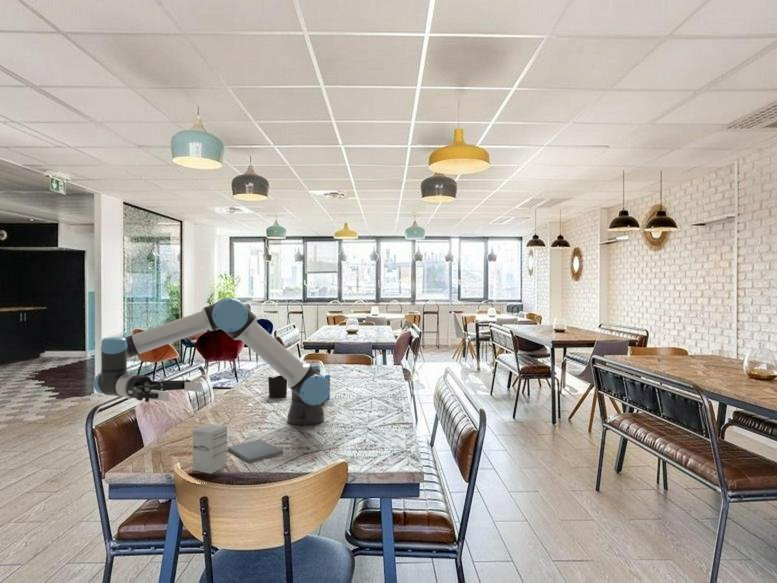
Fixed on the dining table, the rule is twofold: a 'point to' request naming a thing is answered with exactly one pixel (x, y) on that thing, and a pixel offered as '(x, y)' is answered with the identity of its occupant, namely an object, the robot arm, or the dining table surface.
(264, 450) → the slate mat
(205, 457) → the supplement box
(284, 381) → the pen holder
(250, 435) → the dining table surface
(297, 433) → the dining table surface
